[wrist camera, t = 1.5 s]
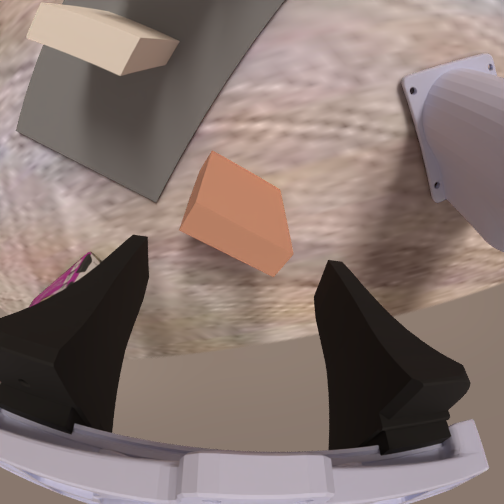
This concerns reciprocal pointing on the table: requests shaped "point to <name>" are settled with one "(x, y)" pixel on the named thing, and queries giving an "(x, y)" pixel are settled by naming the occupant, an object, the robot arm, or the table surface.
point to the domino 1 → (101, 38)
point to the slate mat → (141, 90)
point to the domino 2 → (238, 215)
